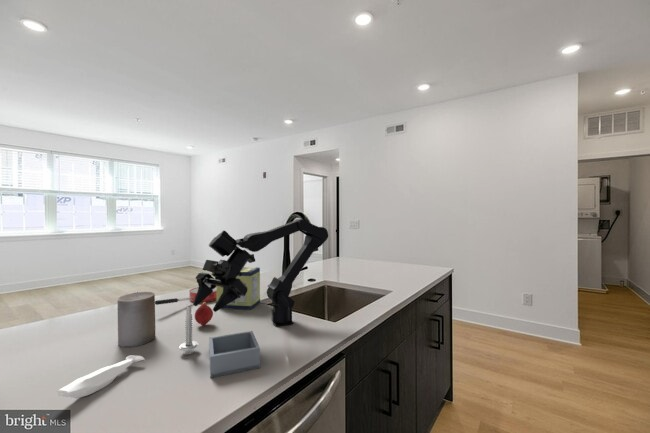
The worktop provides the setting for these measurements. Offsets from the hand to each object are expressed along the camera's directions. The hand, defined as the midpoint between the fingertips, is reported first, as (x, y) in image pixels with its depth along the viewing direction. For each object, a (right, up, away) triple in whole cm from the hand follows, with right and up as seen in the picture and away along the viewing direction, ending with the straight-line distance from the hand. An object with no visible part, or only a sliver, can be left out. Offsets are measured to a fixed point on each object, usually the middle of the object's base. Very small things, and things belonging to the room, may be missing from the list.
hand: (204, 308), depth 85 cm
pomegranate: (-7, -11, +16) cm, 21 cm away
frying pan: (-22, -11, +39) cm, 46 cm away
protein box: (-1, -11, +39) cm, 40 cm away
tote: (+12, -11, -9) cm, 18 cm away
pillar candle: (-22, -11, +4) cm, 25 cm away
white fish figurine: (-15, -11, -19) cm, 27 cm away
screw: (-3, -11, -4) cm, 12 cm away
